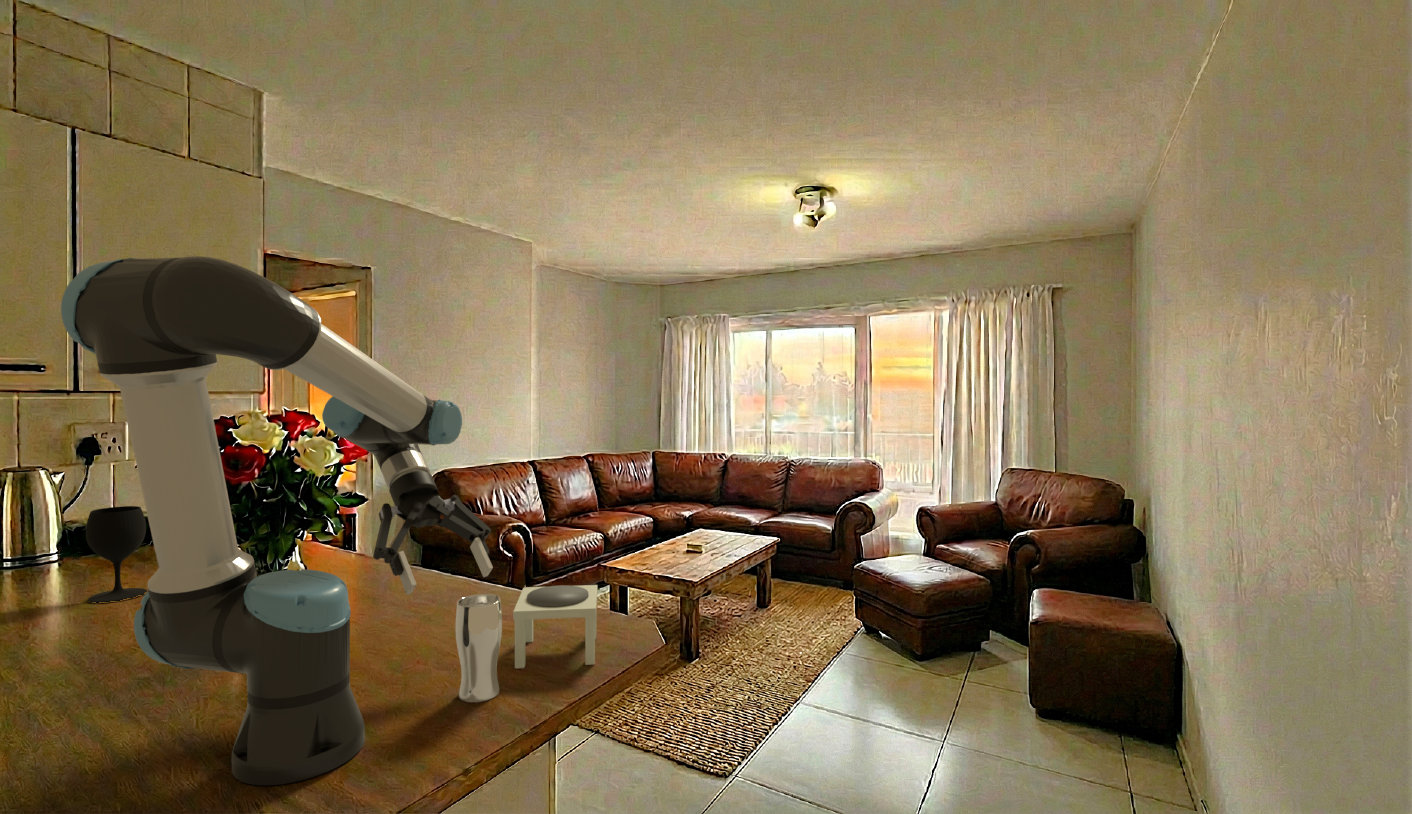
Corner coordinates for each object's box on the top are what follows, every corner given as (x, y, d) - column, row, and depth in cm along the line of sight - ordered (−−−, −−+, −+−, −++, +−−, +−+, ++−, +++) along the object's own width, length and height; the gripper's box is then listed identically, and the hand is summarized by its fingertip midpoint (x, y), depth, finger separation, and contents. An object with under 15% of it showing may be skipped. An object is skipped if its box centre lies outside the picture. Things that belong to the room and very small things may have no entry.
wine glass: (155, 594, 157) (153, 508, 157) (97, 606, 149) (94, 515, 148) (137, 587, 163) (135, 503, 162) (80, 598, 154) (78, 510, 154)
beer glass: (488, 706, 104) (487, 608, 103) (446, 701, 105) (446, 605, 105) (510, 686, 111) (509, 594, 110) (471, 682, 112) (470, 592, 111)
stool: (513, 668, 117) (513, 608, 117) (523, 638, 131) (523, 584, 131) (595, 664, 119) (595, 604, 119) (597, 635, 133) (597, 581, 133)
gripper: (466, 487, 135) (508, 577, 126) (330, 503, 116) (368, 610, 107) (480, 463, 131) (524, 554, 122) (342, 475, 113) (382, 584, 103)
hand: (451, 580), depth 114 cm, fingers open, 13 cm apart
